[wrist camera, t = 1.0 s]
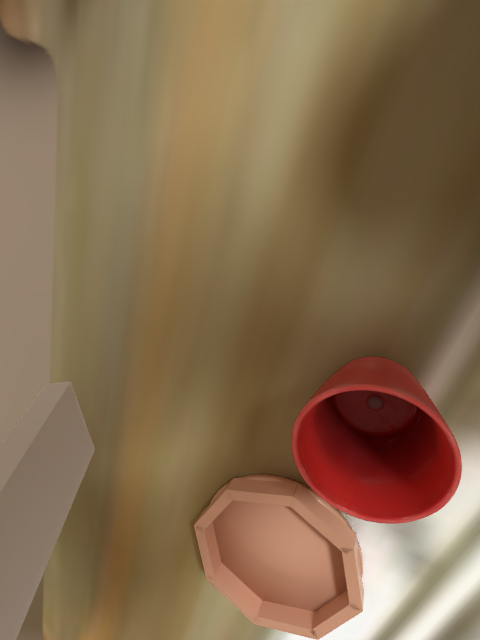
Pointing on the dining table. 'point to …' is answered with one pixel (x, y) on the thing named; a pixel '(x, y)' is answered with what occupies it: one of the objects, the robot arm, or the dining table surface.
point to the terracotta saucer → (281, 555)
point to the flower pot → (376, 444)
